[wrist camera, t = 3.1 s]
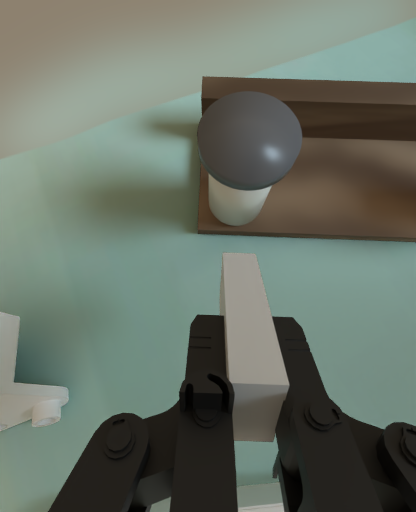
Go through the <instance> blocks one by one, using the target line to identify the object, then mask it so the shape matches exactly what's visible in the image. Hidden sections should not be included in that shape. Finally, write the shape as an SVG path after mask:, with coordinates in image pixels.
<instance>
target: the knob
mask: <svg viewBox="0 0 416 512" xmlns="http://www.w3.org/2000/svg"><path fill="white" fill-rule="evenodd" d="M197 136H198V152H199V157H200V160H201V162H202V164H203V166H204V168H205V169H206V171H207V172H208V173H209V207H210V210H211V212H212V213H213V215H214V216H215V217H216V218H217V219H218V220H219V221H221V222H223V223H225V224H228V225H232V226H240V225H245V224H247V223H250V222H251V221H253V220H254V219H255V218H256V217H257V216H258V214H259V213H260V211H261V209H262V207H263V204H264V202H265V200H266V198H267V195H268V193H269V191H270V189H271V187H272V185H274V184H276V183H278V182H279V181H280V180H282V179H283V178H284V177H285V176H286V175H287V174H288V172H289V171H290V170H291V168H292V166H293V164H294V162H295V160H296V158H297V156H298V154H299V152H300V149H301V145H302V130H301V127H300V124H299V121H298V119H297V117H296V116H295V114H294V113H293V112H292V110H291V109H290V108H289V107H288V106H287V105H286V104H284V103H283V102H282V101H280V100H278V99H277V98H275V97H273V96H270V95H267V94H264V93H260V92H253V91H243V92H236V93H232V94H229V95H226V96H224V97H222V98H220V99H218V100H217V101H215V102H214V103H213V104H212V105H210V106H209V107H208V109H207V110H206V111H205V112H204V114H203V115H202V118H201V120H200V122H199V126H198V132H197Z"/></svg>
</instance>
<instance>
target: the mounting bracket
mask: <svg viewBox="0 0 416 512" xmlns="http://www.w3.org/2000/svg"><path fill="white" fill-rule="evenodd" d="M19 329H20V317H18V316H15V315H11V314H7V313H3V312H0V431H3V430H5V429H8V428H10V427H13V426H15V425H18V424H20V423H22V422H25V421H27V420H30V419H32V426H33V427H42V426H47V425H51V424H53V423H56V422H58V421H59V420H60V419H61V407H62V406H64V405H65V404H66V403H67V402H68V401H69V390H68V388H66V387H62V386H50V385H38V384H25V383H14V377H15V367H16V358H17V348H18V338H19Z"/></svg>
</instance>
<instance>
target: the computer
mask: <svg viewBox="0 0 416 512" xmlns="http://www.w3.org/2000/svg"><path fill="white" fill-rule="evenodd" d="M170 501H171V497H169V498H167V499H164V500H162V501H159V502H157V503H154V504H152V506H151V509H150V512H169V511H170ZM237 502H238V512H284V506H283V500H282V494H281V488H280V482H275V483H266V484H256V485H247V486H237Z"/></svg>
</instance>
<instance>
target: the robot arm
mask: <svg viewBox="0 0 416 512" xmlns="http://www.w3.org/2000/svg"><path fill="white" fill-rule="evenodd" d="M275 433H276V438H277V443H278V449H279V451H278V454H277V457H276V460H275V464H274V467H273V478H277V475H278V476H279V482H280V488H281V494H282V500H283V506H284V512H416V426H413V425H410V424H407V423H404V422H394V423H392V424H390V425H388V426H387V427H386V428H385V430H384V429H381V428H378V427H375V426H372V425H369V424H366V423H364V422H361V421H358V420H356V419H354V418H351V417H349V416H348V415H346V414H345V413H343V412H342V411H341V409H340V408H339V407H338V406H337V405H336V404H335V403H334V402H333V401H332V400H331V399H330V398H329V397H328V395H327V393H326V391H325V388H324V385H323V383H322V380H321V377H320V375H319V372H318V369H317V367H316V364H315V361H314V359H313V356H312V353H311V352H310V348H309V345H308V343H307V342H306V337H305V335H304V332H303V329H302V327H301V326H300V325H299V324H298V323H297V322H296V321H295V320H294V318H293V317H272V315H271V312H270V308H269V304H268V300H267V296H266V292H265V288H264V284H263V281H262V277H261V273H260V269H259V265H258V261H257V257H256V254H250V253H223V255H222V270H221V285H220V315H197V316H196V317H195V319H194V320H193V322H192V323H191V326H190V336H189V345H188V355H187V365H186V375H185V380H184V381H183V382H182V385H181V388H180V391H179V401H178V402H177V403H176V404H175V405H174V406H173V407H172V408H170V409H169V410H168V411H165V412H163V413H161V414H158V415H155V416H152V417H148V418H145V419H142V418H140V417H139V416H137V415H135V414H133V413H121V414H117V415H114V416H112V417H110V418H109V419H107V420H106V421H104V422H103V423H102V424H101V425H100V427H99V428H98V429H97V430H96V432H95V433H94V434H93V436H92V438H91V440H90V441H89V443H88V445H87V446H86V448H85V450H84V451H83V453H82V455H81V457H80V458H79V460H78V462H77V463H76V465H75V467H74V468H73V470H72V472H71V474H70V475H69V477H68V479H67V480H66V482H65V484H64V486H63V487H62V489H61V491H60V492H59V494H58V496H57V497H56V499H55V501H54V503H53V504H52V506H51V508H50V509H49V511H48V512H150V509H151V506H152V504H154V503H157V502H159V501H162V500H164V499H167V498H169V497H171V501H170V511H169V512H238V502H237V485H236V468H235V451H234V440H235V441H262V442H273V440H274V437H275Z"/></svg>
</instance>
